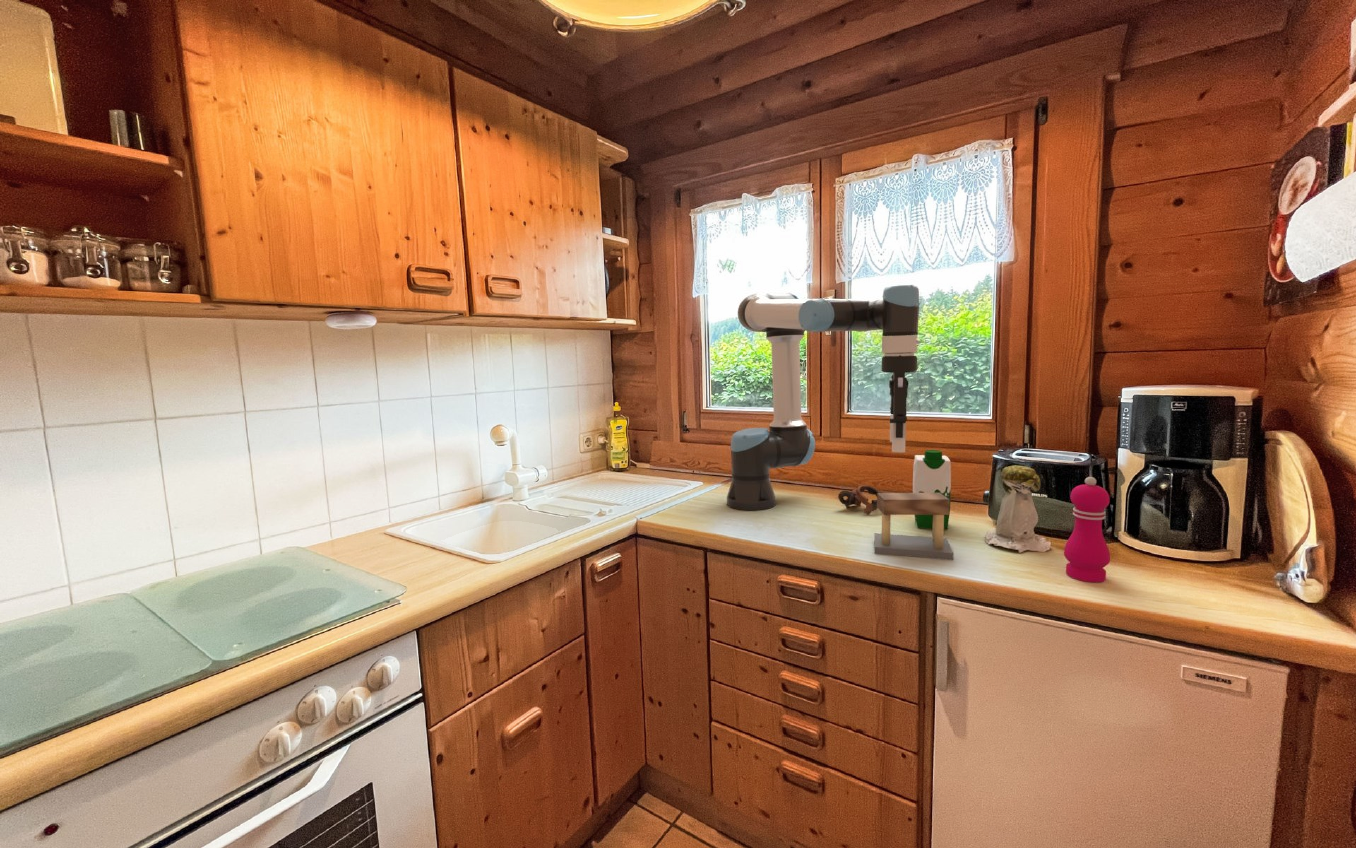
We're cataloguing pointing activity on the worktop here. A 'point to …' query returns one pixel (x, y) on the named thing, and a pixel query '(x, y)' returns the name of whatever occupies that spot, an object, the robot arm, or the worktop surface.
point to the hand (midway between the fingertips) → (896, 446)
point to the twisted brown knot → (859, 498)
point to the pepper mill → (1088, 534)
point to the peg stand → (914, 542)
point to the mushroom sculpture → (1018, 512)
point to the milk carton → (931, 481)
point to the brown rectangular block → (913, 503)
